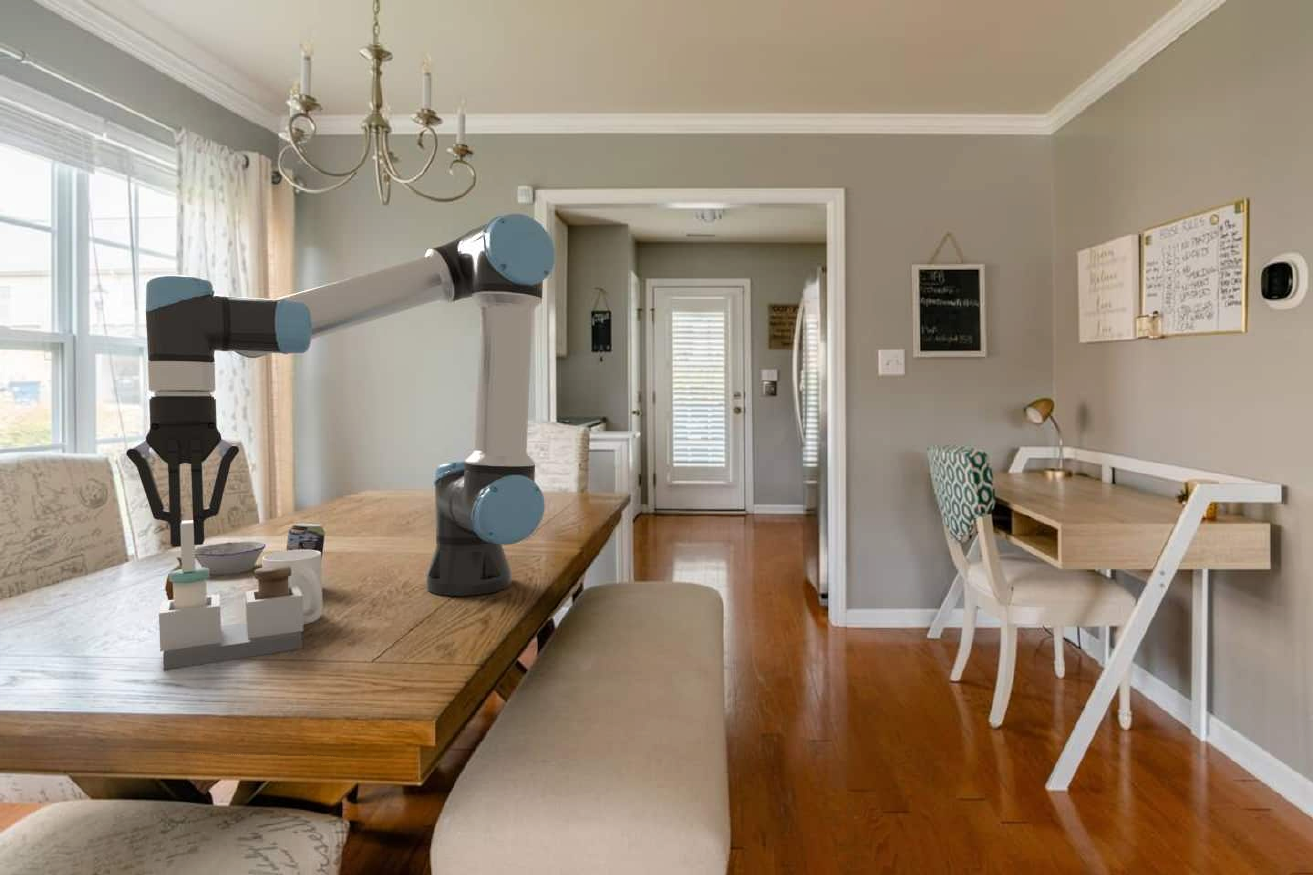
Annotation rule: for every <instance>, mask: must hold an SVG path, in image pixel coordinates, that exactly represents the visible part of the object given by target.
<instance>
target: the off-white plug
mask: <svg viewBox="0 0 1313 875" xmlns="http://www.w3.org/2000/svg"><path fill="white" fill-rule="evenodd" d="M171 571H172V570H171ZM171 571H170V572H169V573H168V574H169V581H170V582H173V598H174V610H177V609H185V608H193V607H201V606H207V596H208V594H207V593H208V592H207V579H209V578H210V574H209V568H204V567H202V566H199V567H196V566H195V571H191V572H182V569H179V570H175V571H172V572H171Z"/></svg>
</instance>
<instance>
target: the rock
mask: <svg viewBox="0 0 1313 875" xmlns="http://www.w3.org/2000/svg"><path fill="white" fill-rule="evenodd" d="M176 560H177V561H178V564H179V565H177V566H176V567H175V568H173V569H172V570H170V572H172V571H175V570H179V569H182V561H181V556H177V557H176ZM165 582H166V583H165V586H164V587H165V589H164V591H165V593H166V596H167V597H166V598H167V599H168V600H174V598H173V582H170V581H169V573H168V574H167V578H166V581H165Z"/></svg>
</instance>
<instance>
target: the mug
mask: <svg viewBox="0 0 1313 875" xmlns="http://www.w3.org/2000/svg"><path fill="white" fill-rule="evenodd" d="M261 560H262V561H261V562H262V563H261V565H262V566H261V568H262V567H268V566H279V565H283V566H290V567H291V576H289V577H288V586H295V585H298V587H299V589H300V592H301V594H302V603H303V626H305V625H308V624H312V623H315V622H316V621H318V620H319V619H320V618H321V617H322V614H323V578H322V577H323V574H322V572H323V571H322V561H321V552H320V551H316V550H289V551H286V550H281V551H276V552H271V553H267V554H266V555H264V556H262V558H261Z"/></svg>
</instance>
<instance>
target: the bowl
mask: <svg viewBox="0 0 1313 875" xmlns="http://www.w3.org/2000/svg"><path fill="white" fill-rule="evenodd" d="M266 546H267V545H266V543H263V542H259V541H237V542H236V541H234V542H233V541H232V542H230V541H228V542H225V543H223V542H222V543H215V544H207V545H201V546H198V547H195V560H197V562H198V563H199V565H200V567H204V568H209V575H216V576H217V575H218V576H219V575H231V574H232V575H233V574H238V573H243V572H247V571H251V570H252V569H253V568H254V566H255V565H256V563H257V561H258V559H259V557H260V556H261V554H262V552H263V551H264V549H265V548H266Z"/></svg>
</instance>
